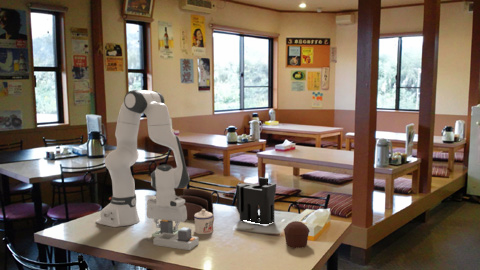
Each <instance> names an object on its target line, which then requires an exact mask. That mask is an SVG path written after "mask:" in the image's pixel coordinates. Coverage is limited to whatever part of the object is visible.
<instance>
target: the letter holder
mask: <svg viewBox="0 0 480 270" xmlns="http://www.w3.org/2000/svg"><path fill="white" fill-rule="evenodd" d="M178 197H180V198H183V199H184V200H185V203H184V205H185V206H186V210H187V219H186V220H192V221H195V218H194V215H195V214H196V213H198V212H200V211H201V210H202V209H205V210H206V211H208V212H210V213H212V214H213V215H214V202H213V200H214V199H213V193H212V192H211V191H210V192H209V191H207V190H203V189H197V188H183V195H178Z"/></svg>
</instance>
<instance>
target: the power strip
mask: <svg viewBox="0 0 480 270" xmlns="http://www.w3.org/2000/svg"><path fill="white" fill-rule="evenodd" d="M191 237H192V238H191V239H190V241H188V242H184V241H178V234H174V233H173V234H171V233H164V232H163V233H162V234H161V233H159V235H158V236H156V237H154V238H153V237H152V238H153V239H150V238H149V239H146V241H147V242H153V246H159V247H166V248H172V249H178V250H184V251H191V250H193V249H194V248H195V247H196V246H198V245H199V244H200V243H199V241H200V240H199V236H193V235H191Z"/></svg>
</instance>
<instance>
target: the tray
mask: <svg viewBox="0 0 480 270" xmlns="http://www.w3.org/2000/svg"><path fill="white" fill-rule="evenodd" d="M179 230H180V229H179V228H178V230H173V234H178V231H179ZM160 234H161V232H160V229H157V231H154V232H153V233H151V238H153V237H154V238H155V237H156V236H158V235H160Z"/></svg>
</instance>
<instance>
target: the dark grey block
mask: <svg viewBox="0 0 480 270" xmlns="http://www.w3.org/2000/svg"><path fill="white" fill-rule="evenodd" d="M191 236H192V229H191V228H190V227H184V226H183V227H181V228H180V229H179V231H178V241H184V242H188V241H190V239H191V238H192V237H191Z"/></svg>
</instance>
